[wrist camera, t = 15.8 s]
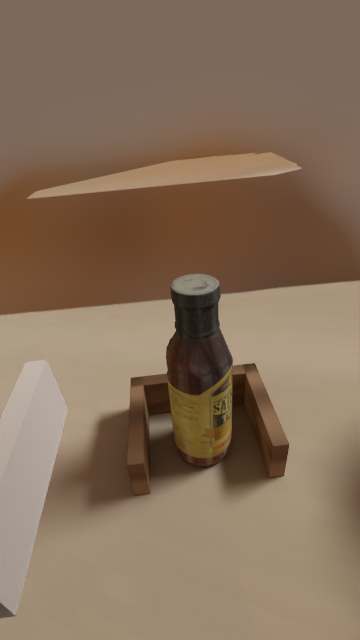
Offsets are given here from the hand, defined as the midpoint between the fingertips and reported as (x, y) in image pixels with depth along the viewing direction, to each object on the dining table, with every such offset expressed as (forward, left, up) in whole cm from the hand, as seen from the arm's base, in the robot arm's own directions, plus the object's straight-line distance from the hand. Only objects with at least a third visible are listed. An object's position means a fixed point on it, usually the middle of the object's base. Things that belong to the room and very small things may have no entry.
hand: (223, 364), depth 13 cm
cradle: (-7, -12, -24) cm, 27 cm away
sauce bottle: (-7, -12, -24) cm, 28 cm away
